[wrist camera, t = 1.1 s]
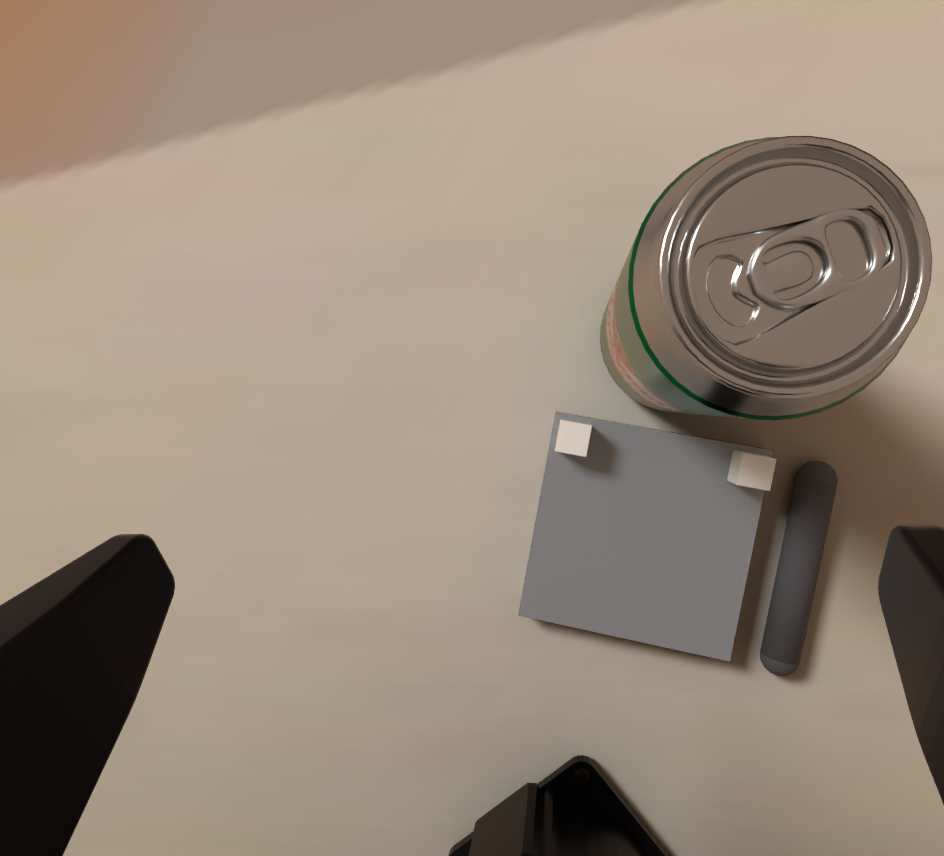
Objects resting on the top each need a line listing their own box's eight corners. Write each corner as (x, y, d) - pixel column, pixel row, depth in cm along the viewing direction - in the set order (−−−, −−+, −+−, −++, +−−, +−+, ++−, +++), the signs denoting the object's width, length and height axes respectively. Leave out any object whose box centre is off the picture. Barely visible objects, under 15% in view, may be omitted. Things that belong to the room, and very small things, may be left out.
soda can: (578, 294, 23) (591, 183, 12) (722, 239, 23) (895, 58, 11) (628, 433, 23) (694, 464, 11) (775, 381, 23) (1007, 357, 11)
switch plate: (722, 650, 23) (738, 676, 21) (520, 606, 24) (515, 627, 22) (763, 448, 23) (784, 453, 21) (556, 411, 24) (555, 412, 21)
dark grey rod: (788, 670, 23) (801, 685, 22) (752, 663, 23) (762, 677, 22) (832, 463, 23) (847, 466, 21) (795, 456, 23) (807, 459, 22)
